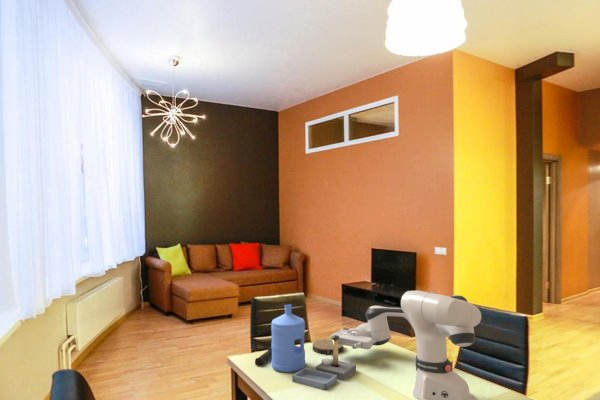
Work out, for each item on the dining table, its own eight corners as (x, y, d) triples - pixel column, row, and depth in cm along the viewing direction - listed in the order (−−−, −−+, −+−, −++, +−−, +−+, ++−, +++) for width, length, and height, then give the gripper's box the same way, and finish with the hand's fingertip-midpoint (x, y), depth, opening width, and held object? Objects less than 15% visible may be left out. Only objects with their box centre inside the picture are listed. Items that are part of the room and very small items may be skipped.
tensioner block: (356, 371, 178) (355, 361, 178) (343, 380, 168) (343, 369, 168) (328, 365, 186) (328, 355, 186) (315, 373, 176) (315, 363, 176)
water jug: (270, 373, 177) (270, 309, 178) (272, 360, 192) (271, 301, 193) (306, 372, 177) (305, 308, 178) (304, 359, 193) (304, 301, 194)
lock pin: (341, 372, 177) (340, 336, 178) (337, 374, 174) (336, 338, 175) (334, 370, 179) (333, 334, 180) (330, 373, 176) (330, 336, 177)
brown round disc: (311, 345, 215) (311, 339, 215) (340, 344, 216) (340, 338, 216) (314, 355, 199) (314, 349, 199) (345, 354, 200) (345, 348, 200)
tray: (337, 381, 167) (337, 375, 167) (325, 390, 159) (325, 383, 159) (305, 373, 176) (305, 367, 176) (292, 381, 168) (292, 375, 168)
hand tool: (262, 367, 184) (262, 357, 184) (254, 366, 186) (254, 356, 186) (280, 354, 202) (280, 344, 202) (273, 353, 203) (273, 344, 203)
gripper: (377, 347, 191) (365, 356, 179) (339, 340, 202) (325, 348, 190) (377, 334, 191) (365, 342, 179) (338, 327, 202) (325, 335, 191)
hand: (344, 345), depth 185 cm, fingers open, 8 cm apart
